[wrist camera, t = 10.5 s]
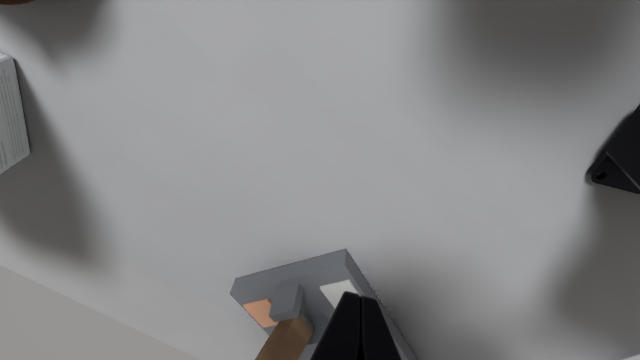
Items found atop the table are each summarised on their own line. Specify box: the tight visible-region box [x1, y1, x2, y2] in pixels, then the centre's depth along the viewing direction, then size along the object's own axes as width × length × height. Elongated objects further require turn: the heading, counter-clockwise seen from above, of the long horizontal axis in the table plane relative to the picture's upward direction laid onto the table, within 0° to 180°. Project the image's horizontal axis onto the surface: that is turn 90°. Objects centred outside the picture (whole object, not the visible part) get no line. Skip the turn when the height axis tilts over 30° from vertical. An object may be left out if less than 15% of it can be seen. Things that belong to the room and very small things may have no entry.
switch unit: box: [230, 249, 418, 360], centre depth 32 cm, size 10×19×4 cm, turn 28°
